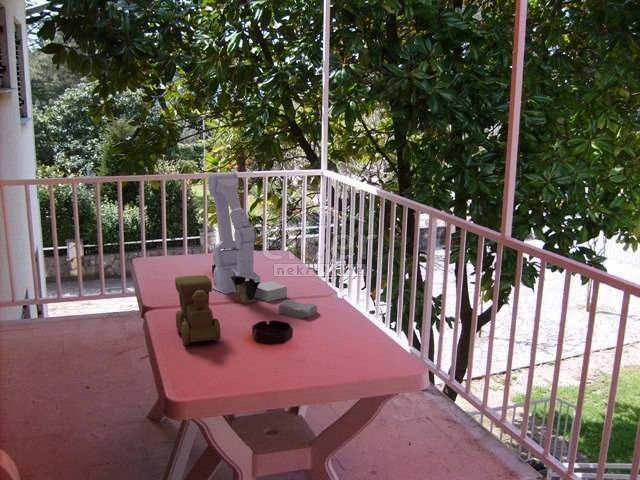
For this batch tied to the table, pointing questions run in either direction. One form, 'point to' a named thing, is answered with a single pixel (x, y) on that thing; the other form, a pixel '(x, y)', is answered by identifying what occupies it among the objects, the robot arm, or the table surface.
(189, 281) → the wooden toy train
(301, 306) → the stone block
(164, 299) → the table surface
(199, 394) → the table surface
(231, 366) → the table surface
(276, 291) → the plinth
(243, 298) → the walnut block
